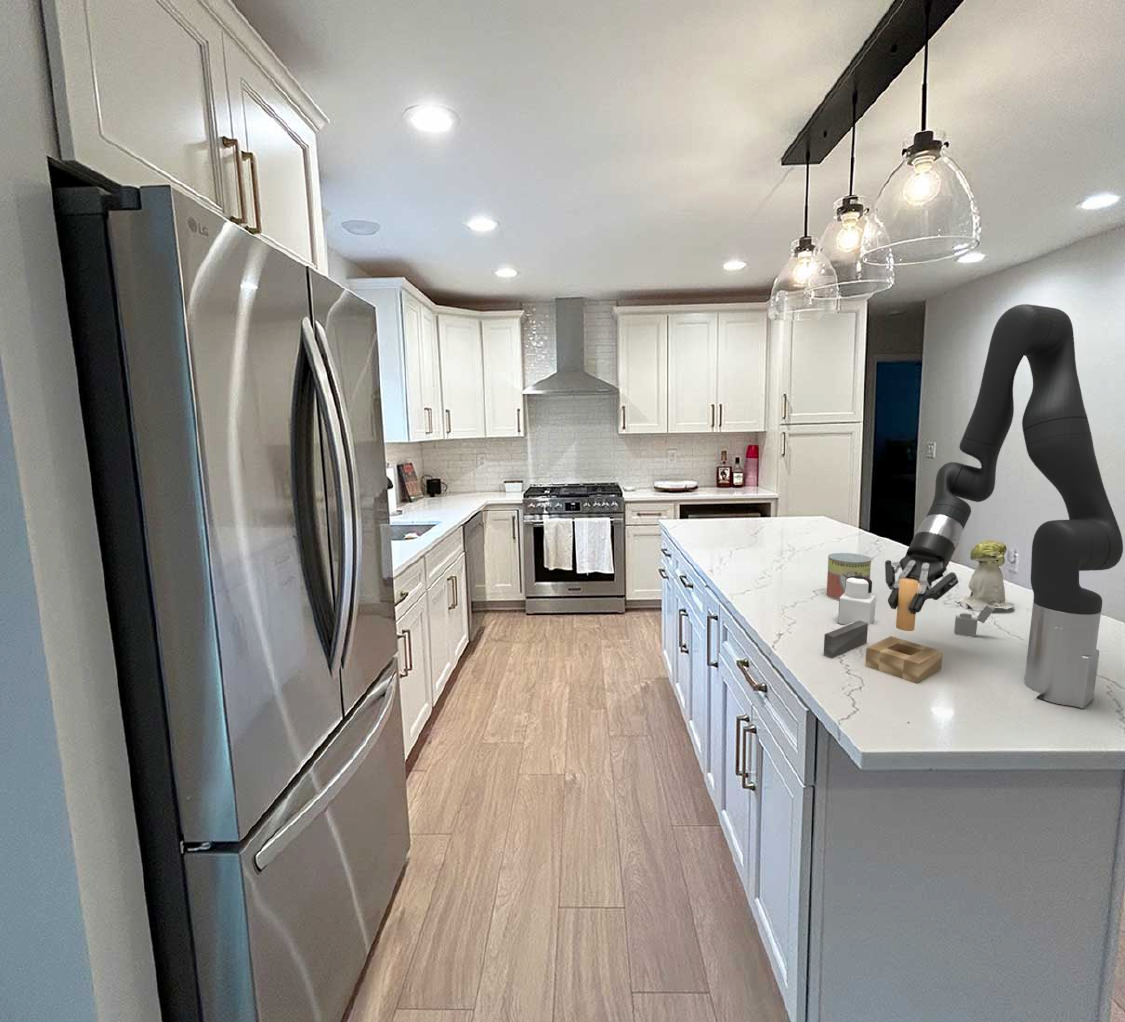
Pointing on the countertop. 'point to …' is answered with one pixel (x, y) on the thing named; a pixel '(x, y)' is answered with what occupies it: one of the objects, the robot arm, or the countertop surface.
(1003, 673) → the countertop surface
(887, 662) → the socket block
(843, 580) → the canned food
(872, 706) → the countertop surface
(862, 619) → the medicine bottle
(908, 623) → the dowel
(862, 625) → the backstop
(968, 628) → the lighter
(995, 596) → the mushroom
